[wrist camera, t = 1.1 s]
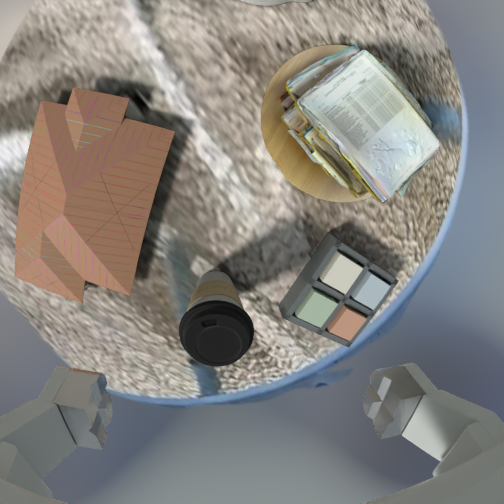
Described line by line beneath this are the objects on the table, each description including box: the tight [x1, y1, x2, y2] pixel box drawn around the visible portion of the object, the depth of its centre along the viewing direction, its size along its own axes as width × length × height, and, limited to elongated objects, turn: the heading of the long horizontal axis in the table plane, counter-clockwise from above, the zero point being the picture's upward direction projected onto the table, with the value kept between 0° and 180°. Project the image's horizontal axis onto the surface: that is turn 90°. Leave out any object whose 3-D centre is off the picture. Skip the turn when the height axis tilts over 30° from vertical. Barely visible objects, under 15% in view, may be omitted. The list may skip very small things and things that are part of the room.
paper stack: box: [261, 43, 440, 203], centre depth 35 cm, size 25×25×17 cm
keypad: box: [278, 233, 398, 347], centre depth 51 cm, size 15×15×4 cm
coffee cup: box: [179, 271, 254, 366], centre depth 43 cm, size 9×9×15 cm
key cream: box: [319, 251, 363, 294], centre depth 47 cm, size 5×5×2 cm
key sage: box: [294, 287, 338, 328], centre depth 49 cm, size 5×5×2 cm
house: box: [15, 87, 175, 303], centre depth 39 cm, size 23×33×8 cm
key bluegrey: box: [351, 271, 391, 310], centre depth 49 cm, size 5×5×2 cm
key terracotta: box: [327, 304, 367, 341], centre depth 51 cm, size 5×5×2 cm
